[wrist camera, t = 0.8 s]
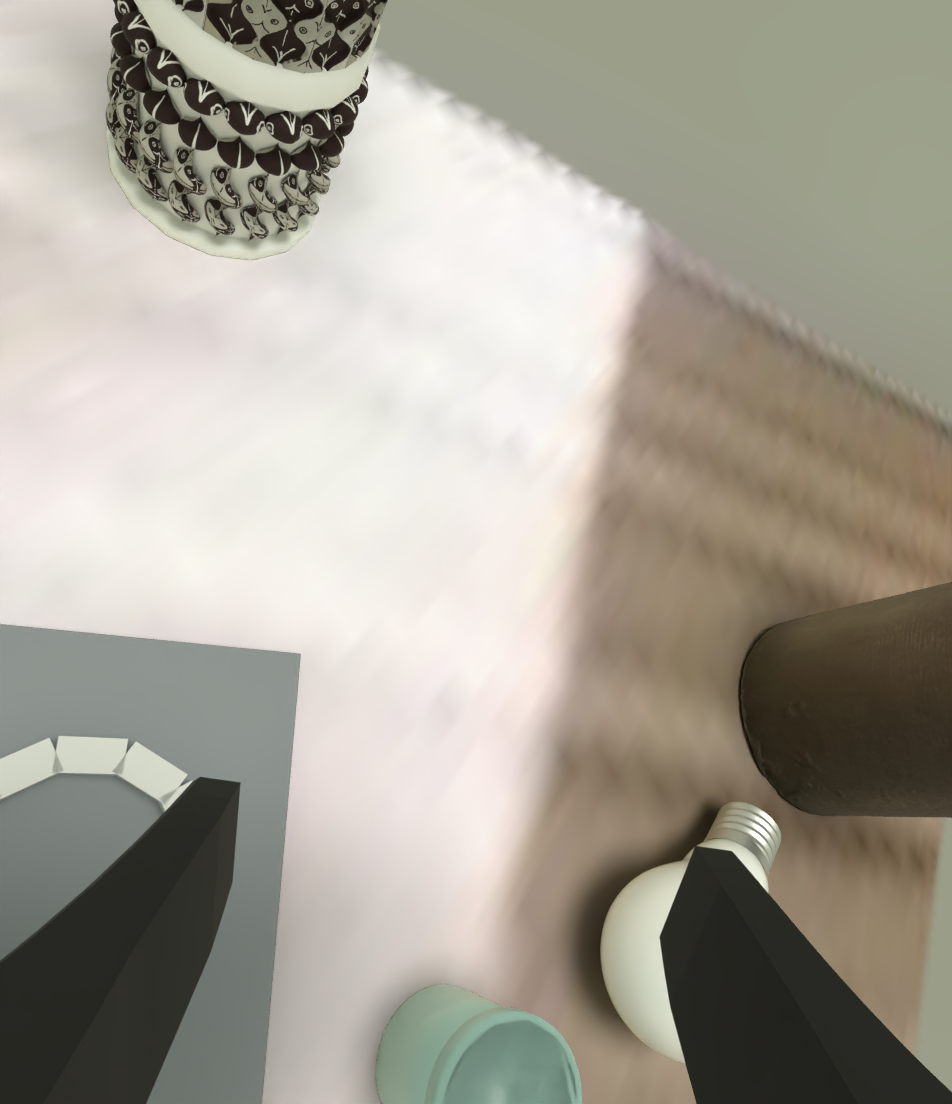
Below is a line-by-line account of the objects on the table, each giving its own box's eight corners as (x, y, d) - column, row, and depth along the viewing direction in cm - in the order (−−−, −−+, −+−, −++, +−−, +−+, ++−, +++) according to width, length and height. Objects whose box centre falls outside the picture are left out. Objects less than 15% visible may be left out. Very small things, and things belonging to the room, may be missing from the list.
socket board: (252, 1126, 22) (266, 1151, 20) (-289, 1222, 17) (-326, 1263, 15) (294, 657, 26) (308, 648, 25) (-120, 618, 21) (-134, 603, 20)
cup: (499, 1130, 25) (585, 1195, 21) (367, 1157, 23) (432, 1236, 19) (499, 973, 27) (578, 1004, 22) (375, 985, 24) (437, 1022, 20)
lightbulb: (818, 765, 29) (731, 994, 21) (843, 892, 31) (771, 1146, 23) (669, 748, 33) (549, 934, 25) (698, 860, 35) (594, 1068, 27)
